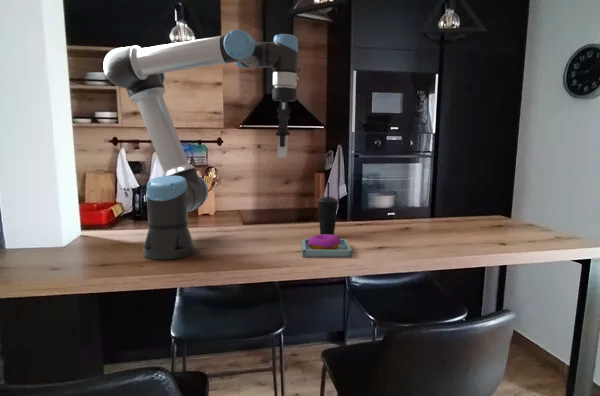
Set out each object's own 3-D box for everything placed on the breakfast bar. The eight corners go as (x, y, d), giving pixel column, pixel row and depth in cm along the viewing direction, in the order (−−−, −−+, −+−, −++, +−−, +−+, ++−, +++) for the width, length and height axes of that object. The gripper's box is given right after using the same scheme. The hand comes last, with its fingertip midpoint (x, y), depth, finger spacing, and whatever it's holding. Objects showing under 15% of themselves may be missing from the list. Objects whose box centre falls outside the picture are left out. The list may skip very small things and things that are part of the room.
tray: (302, 257, 127) (303, 250, 127) (301, 244, 141) (301, 238, 141) (352, 257, 128) (352, 250, 127) (346, 245, 141) (346, 238, 141)
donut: (325, 243, 141) (325, 230, 140) (347, 250, 133) (347, 236, 133) (301, 248, 134) (302, 234, 134) (323, 256, 127) (323, 241, 126)
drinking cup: (336, 240, 148) (337, 184, 144) (315, 238, 149) (316, 183, 146) (338, 235, 155) (340, 181, 152) (318, 233, 157) (319, 180, 153)
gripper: (297, 84, 118) (294, 159, 121) (296, 91, 142) (294, 154, 146) (270, 83, 118) (268, 158, 121) (274, 90, 142) (272, 153, 146)
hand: (282, 156), depth 133 cm, fingers open, 13 cm apart
